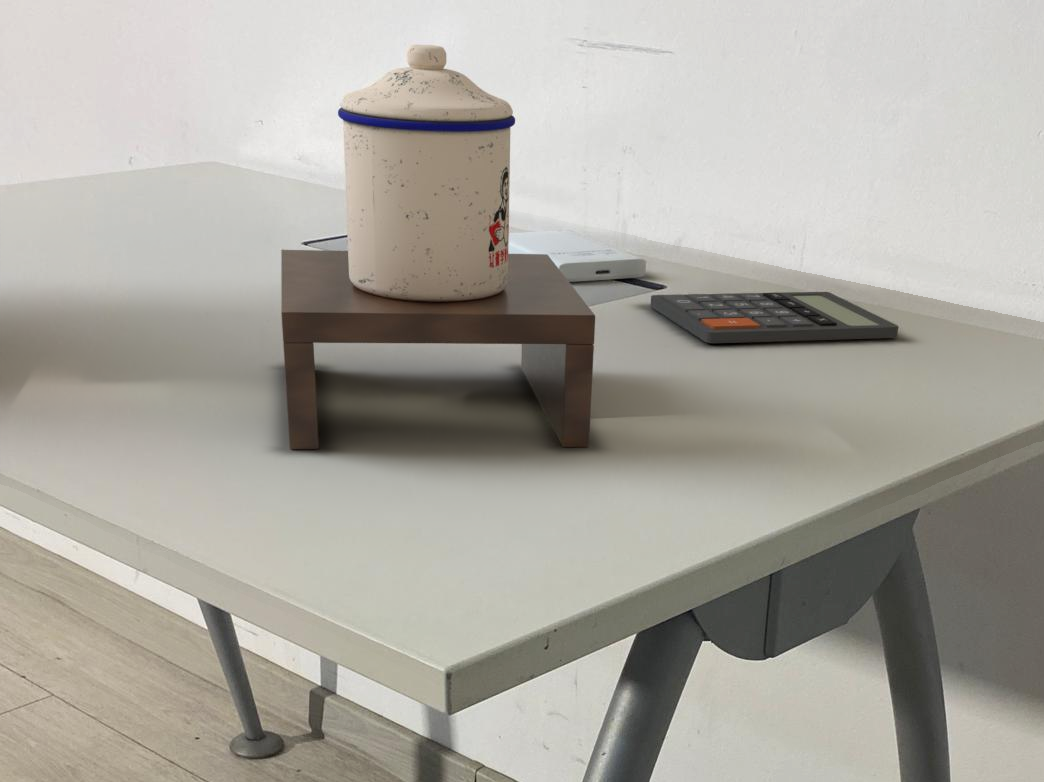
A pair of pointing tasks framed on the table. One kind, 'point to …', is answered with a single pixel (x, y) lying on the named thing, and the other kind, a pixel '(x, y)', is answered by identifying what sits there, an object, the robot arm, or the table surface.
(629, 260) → the hard drive
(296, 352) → the shelf
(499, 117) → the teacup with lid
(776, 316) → the calculator
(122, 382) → the table surface
